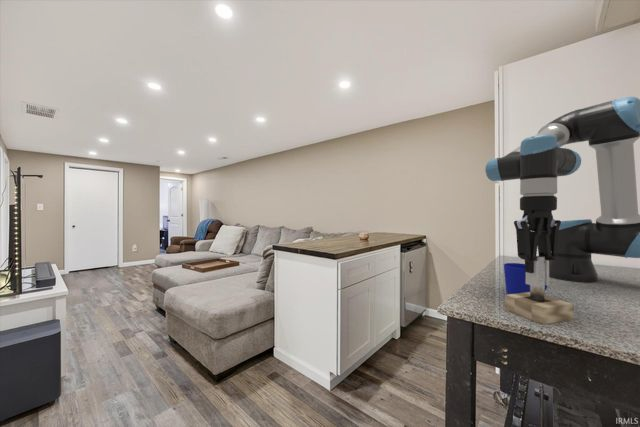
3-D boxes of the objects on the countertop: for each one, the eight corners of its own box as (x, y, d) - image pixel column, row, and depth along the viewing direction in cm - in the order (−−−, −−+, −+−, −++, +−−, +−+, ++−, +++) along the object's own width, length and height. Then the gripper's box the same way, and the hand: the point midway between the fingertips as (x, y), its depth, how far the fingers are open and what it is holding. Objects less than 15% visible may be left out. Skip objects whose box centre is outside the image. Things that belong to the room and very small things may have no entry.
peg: (535, 299, 71) (535, 255, 71) (547, 303, 68) (547, 257, 68) (527, 300, 70) (527, 255, 70) (538, 304, 67) (539, 257, 67)
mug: (557, 303, 77) (557, 269, 77) (511, 300, 80) (511, 267, 79) (540, 294, 85) (540, 263, 85) (498, 292, 88) (499, 262, 88)
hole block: (532, 305, 75) (532, 291, 75) (573, 319, 66) (573, 303, 66) (504, 309, 73) (504, 294, 73) (543, 324, 63) (543, 307, 63)
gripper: (545, 196, 75) (544, 278, 75) (500, 196, 70) (500, 282, 71) (576, 195, 67) (576, 286, 68) (529, 194, 63) (528, 291, 64)
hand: (537, 284), depth 69 cm, fingers closed on peg, 3 cm apart
